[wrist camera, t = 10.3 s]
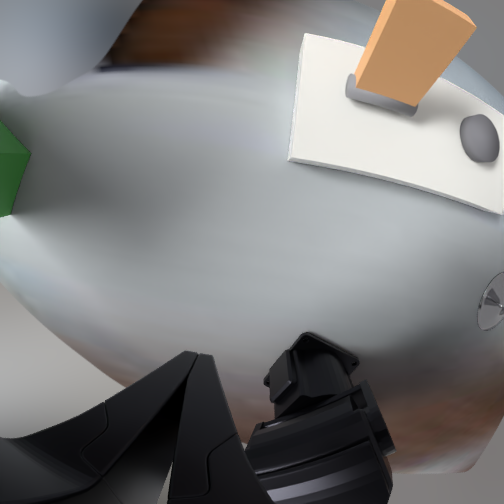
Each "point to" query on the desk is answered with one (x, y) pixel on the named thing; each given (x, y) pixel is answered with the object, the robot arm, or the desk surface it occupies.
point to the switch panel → (390, 131)
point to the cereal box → (10, 168)
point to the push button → (479, 138)
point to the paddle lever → (408, 53)
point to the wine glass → (492, 304)
